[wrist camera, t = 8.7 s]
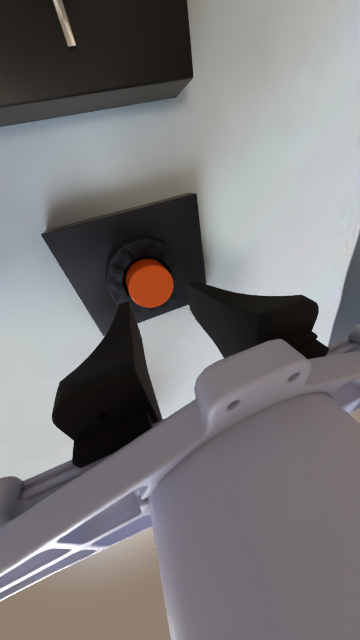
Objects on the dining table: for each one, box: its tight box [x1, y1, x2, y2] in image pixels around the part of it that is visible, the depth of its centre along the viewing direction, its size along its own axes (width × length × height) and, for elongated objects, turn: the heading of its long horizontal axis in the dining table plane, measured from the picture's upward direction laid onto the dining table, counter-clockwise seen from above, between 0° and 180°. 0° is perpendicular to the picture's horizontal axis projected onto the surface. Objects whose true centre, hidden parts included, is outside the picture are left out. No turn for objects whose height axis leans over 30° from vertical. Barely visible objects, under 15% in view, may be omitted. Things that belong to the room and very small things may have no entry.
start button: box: [126, 259, 174, 308], centre depth 15 cm, size 4×4×2 cm
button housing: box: [41, 193, 206, 336], centre depth 17 cm, size 12×10×4 cm
